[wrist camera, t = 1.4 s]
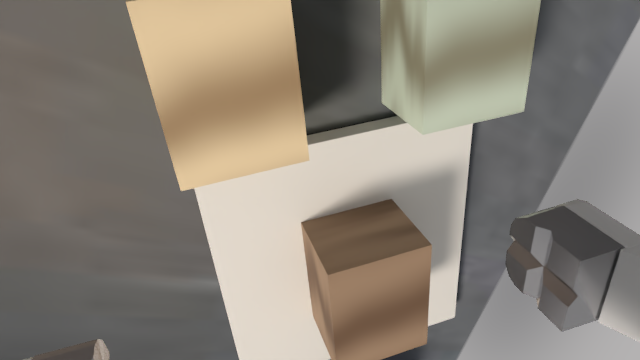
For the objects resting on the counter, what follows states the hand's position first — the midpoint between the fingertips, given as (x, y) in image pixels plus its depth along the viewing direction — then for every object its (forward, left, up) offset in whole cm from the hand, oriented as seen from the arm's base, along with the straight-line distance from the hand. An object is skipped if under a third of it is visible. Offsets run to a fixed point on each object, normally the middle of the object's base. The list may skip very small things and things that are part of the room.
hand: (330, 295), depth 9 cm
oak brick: (0, 0, -17) cm, 17 cm away
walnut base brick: (+14, +6, -16) cm, 22 cm away
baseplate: (+14, +6, -17) cm, 23 cm away
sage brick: (0, +12, -17) cm, 21 cm away
